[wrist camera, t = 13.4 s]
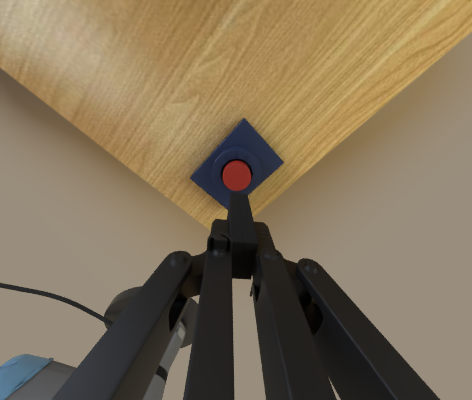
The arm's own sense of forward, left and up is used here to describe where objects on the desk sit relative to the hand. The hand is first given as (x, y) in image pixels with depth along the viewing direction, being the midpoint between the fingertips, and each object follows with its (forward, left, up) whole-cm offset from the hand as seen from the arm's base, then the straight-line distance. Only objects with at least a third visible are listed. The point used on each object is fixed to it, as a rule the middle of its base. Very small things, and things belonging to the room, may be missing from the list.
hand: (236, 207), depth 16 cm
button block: (0, 0, -13) cm, 13 cm away
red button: (0, 0, -9) cm, 9 cm away
